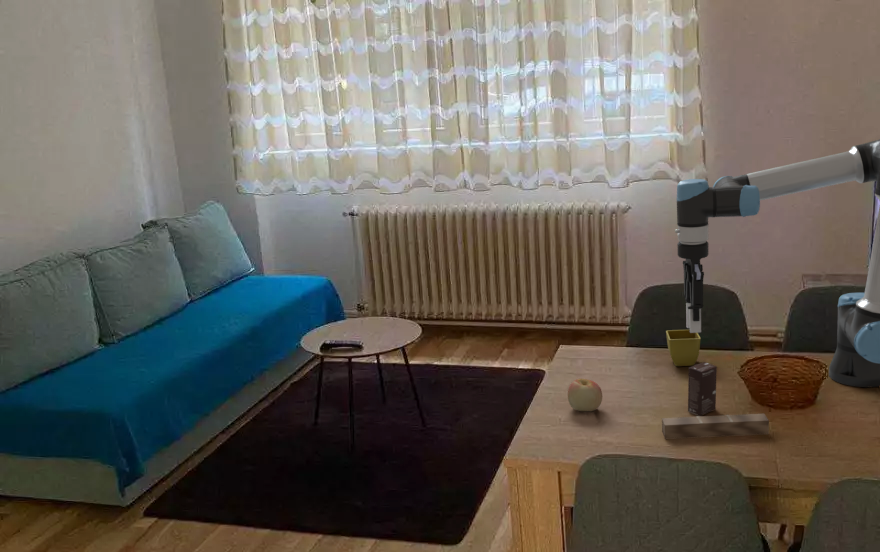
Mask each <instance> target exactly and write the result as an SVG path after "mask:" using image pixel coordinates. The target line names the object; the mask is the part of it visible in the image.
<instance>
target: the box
mask: <svg viewBox="0 0 880 552" xmlns="http://www.w3.org/2000/svg"><path fill="white" fill-rule="evenodd" d="M717 370H718V367H717V365H715V364H711V363H708V362H706V361H703V362H701V363H695V364H694V365H693V366H689V367H688V384H687V385H688V386H687V387H688V391H687V392H688V393H687V394H688V396H687V397H688V398H687V412H689V413H690V414H693V415H696V416H699V417H700V416H703V415H705V414H709V413H710V412H713V411H715V410H716V406H717V404H716V402H717V398H716V397H717V372H718V371H717Z"/></svg>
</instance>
